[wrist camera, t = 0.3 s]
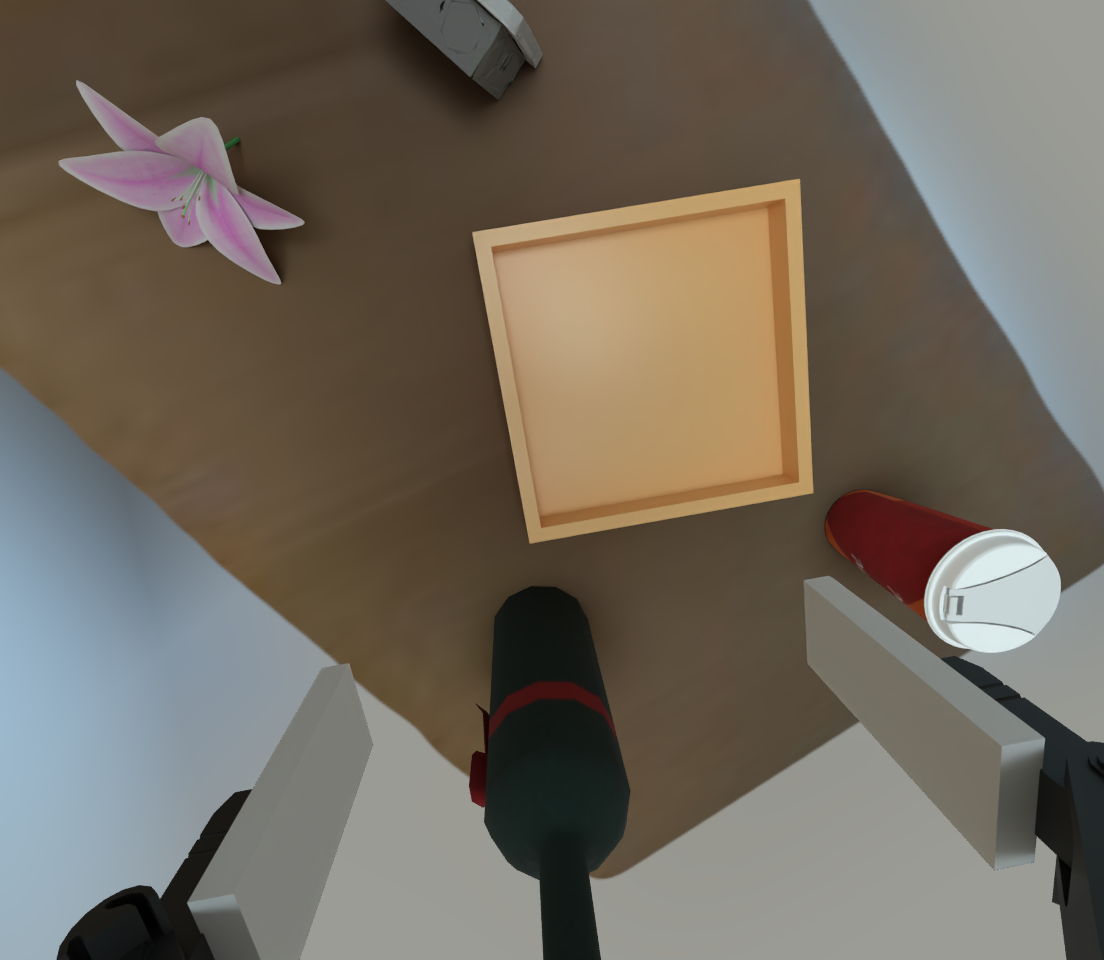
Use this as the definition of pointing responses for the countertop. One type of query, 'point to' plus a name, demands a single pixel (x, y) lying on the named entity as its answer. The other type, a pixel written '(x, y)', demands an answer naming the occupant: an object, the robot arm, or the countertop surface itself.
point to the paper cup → (949, 569)
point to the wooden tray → (652, 358)
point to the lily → (182, 184)
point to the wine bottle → (551, 762)
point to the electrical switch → (476, 37)
